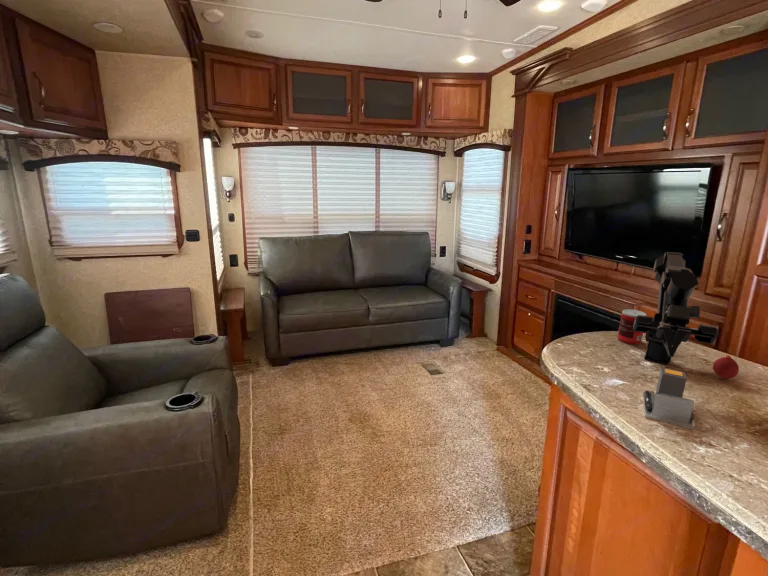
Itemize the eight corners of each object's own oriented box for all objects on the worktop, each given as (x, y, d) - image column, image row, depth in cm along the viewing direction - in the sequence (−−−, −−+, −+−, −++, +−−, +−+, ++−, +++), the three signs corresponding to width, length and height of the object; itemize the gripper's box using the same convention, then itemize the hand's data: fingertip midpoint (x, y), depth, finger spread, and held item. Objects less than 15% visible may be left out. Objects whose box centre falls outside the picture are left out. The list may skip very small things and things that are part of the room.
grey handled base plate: (642, 395, 109) (647, 372, 107) (687, 405, 104) (693, 382, 102) (644, 417, 99) (650, 392, 97) (694, 429, 94) (701, 404, 92)
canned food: (639, 338, 148) (644, 310, 145) (642, 346, 141) (648, 317, 138) (616, 335, 151) (621, 307, 148) (618, 342, 144) (623, 314, 141)
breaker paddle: (654, 396, 106) (661, 366, 104) (677, 401, 104) (684, 371, 101) (655, 403, 103) (662, 373, 100) (679, 408, 100) (686, 378, 98)
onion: (735, 379, 118) (742, 354, 116) (734, 386, 114) (741, 361, 112) (711, 372, 122) (717, 349, 120) (709, 379, 118) (715, 354, 116)
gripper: (641, 288, 112) (635, 337, 106) (725, 298, 103) (724, 352, 97) (635, 306, 121) (629, 353, 114) (712, 317, 112) (711, 368, 105)
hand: (671, 356), depth 107 cm, fingers closed
